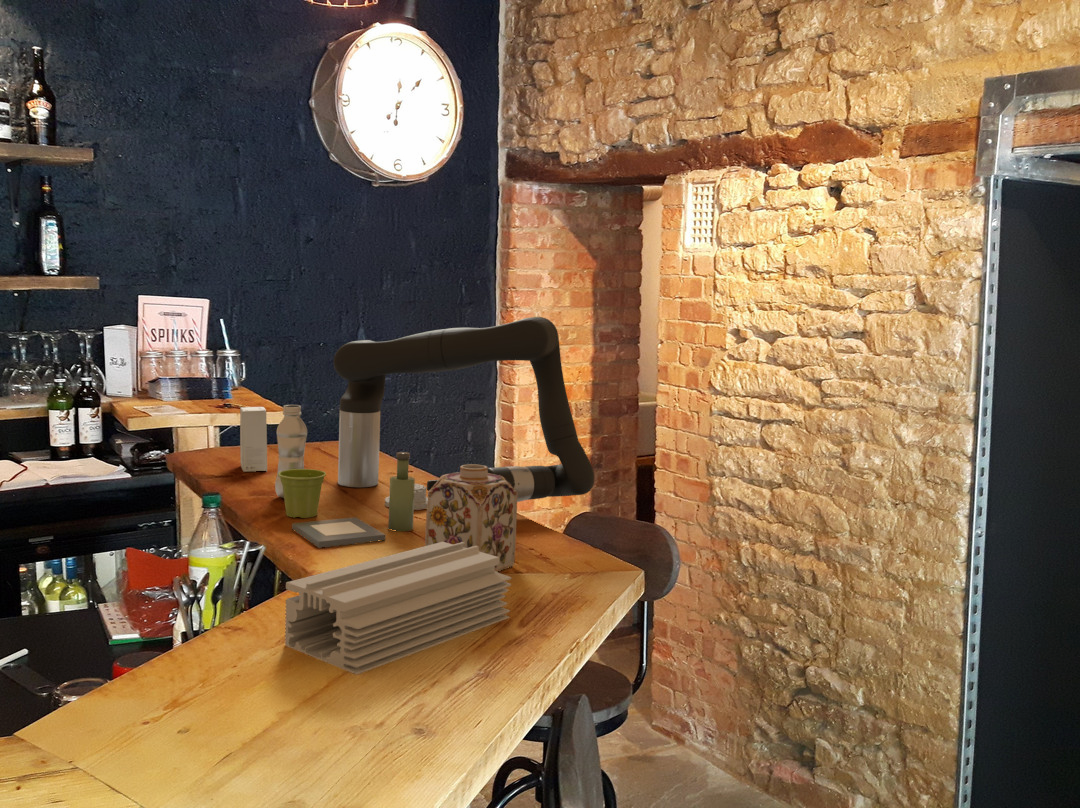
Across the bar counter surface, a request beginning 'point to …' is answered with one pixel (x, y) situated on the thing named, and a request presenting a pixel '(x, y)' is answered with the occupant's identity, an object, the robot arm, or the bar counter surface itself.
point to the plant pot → (301, 491)
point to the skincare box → (253, 439)
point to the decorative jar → (474, 513)
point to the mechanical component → (416, 497)
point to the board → (337, 532)
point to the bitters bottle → (401, 496)
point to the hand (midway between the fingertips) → (437, 490)
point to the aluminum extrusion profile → (394, 605)
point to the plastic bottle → (290, 443)
